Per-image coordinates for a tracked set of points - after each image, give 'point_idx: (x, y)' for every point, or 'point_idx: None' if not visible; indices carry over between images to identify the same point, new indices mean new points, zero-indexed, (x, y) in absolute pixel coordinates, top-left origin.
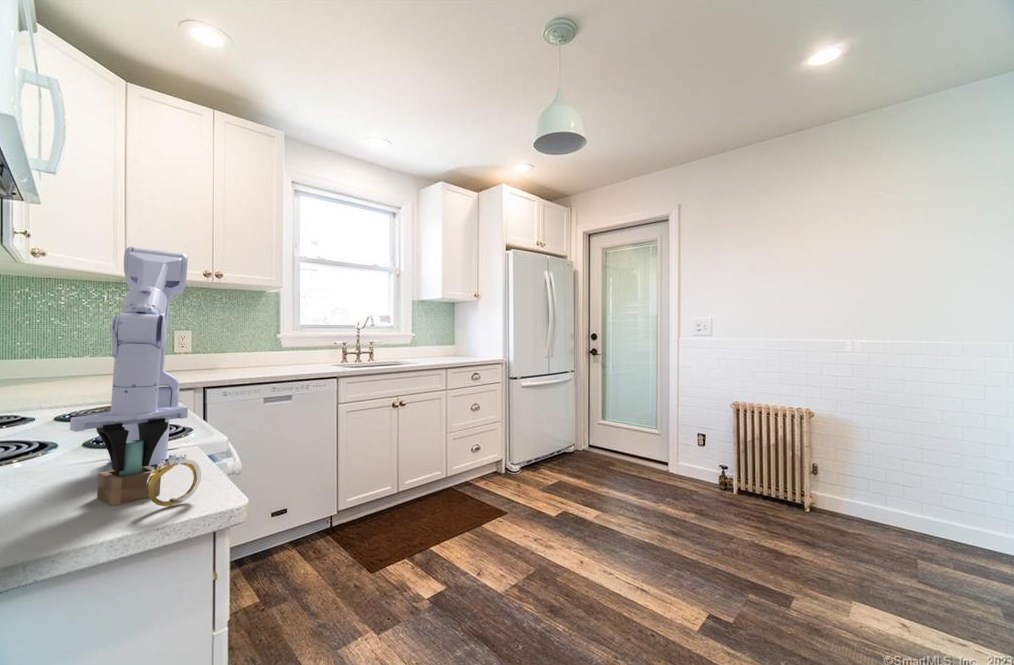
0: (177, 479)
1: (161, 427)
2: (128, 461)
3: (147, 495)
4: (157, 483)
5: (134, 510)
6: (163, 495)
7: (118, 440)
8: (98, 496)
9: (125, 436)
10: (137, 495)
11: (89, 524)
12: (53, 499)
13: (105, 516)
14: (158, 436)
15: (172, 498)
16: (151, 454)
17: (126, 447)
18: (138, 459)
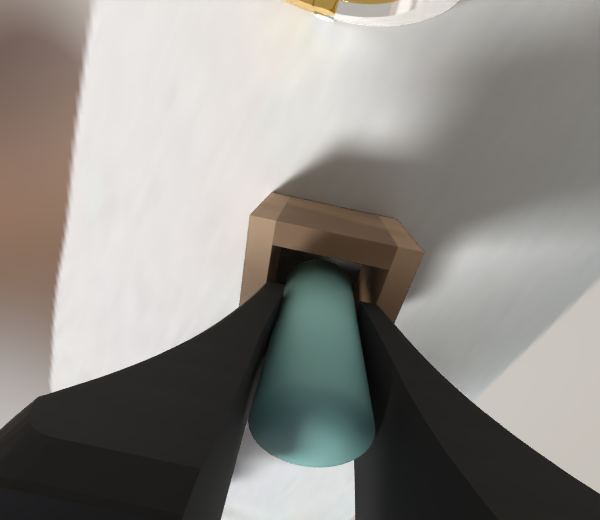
0: (169, 277)
1: (90, 433)
2: (348, 319)
3: (430, 17)
4: (273, 202)
5: (406, 109)
6: (271, 170)
7: (493, 446)
8: None
9: (474, 463)
10: (333, 210)
11: (544, 114)
12: None
13: (472, 144)
14: (175, 363)
15: (323, 7)
16: (250, 300)
17: (366, 391)
18: (311, 305)
